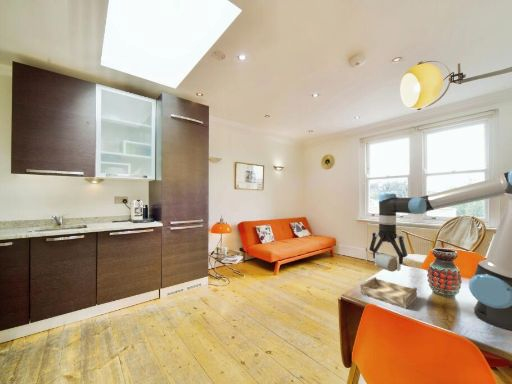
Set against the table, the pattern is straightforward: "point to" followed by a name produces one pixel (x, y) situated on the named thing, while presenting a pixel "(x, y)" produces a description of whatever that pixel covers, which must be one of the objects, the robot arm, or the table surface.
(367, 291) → the crate
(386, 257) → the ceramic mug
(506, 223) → the robot arm
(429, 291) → the table surface
